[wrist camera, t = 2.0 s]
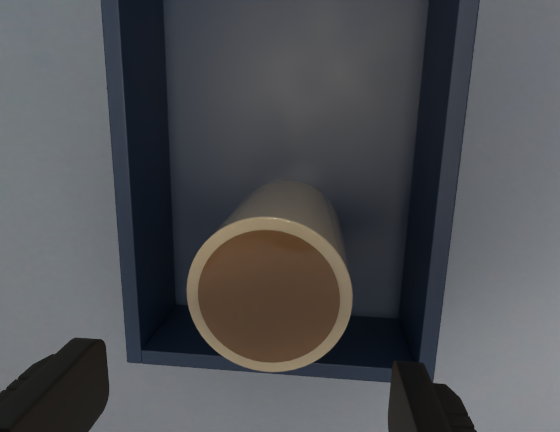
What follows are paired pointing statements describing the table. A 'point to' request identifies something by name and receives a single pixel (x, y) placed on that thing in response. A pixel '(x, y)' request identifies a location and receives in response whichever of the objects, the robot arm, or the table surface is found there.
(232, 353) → the cup
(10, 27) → the table surface
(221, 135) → the navy tray
